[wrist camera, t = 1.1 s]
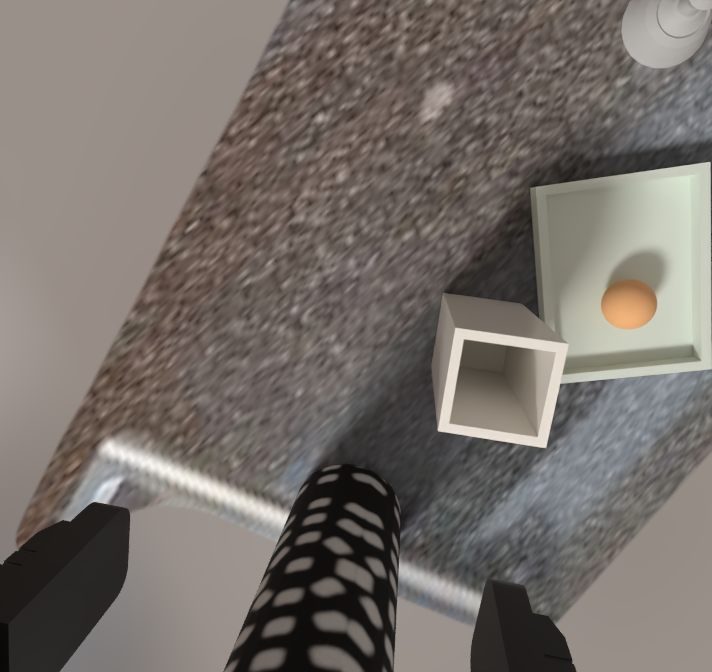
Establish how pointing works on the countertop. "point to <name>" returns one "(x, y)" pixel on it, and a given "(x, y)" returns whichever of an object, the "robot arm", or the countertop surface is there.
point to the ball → (629, 304)
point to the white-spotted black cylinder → (328, 581)
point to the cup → (495, 370)
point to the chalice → (665, 30)
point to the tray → (626, 269)
